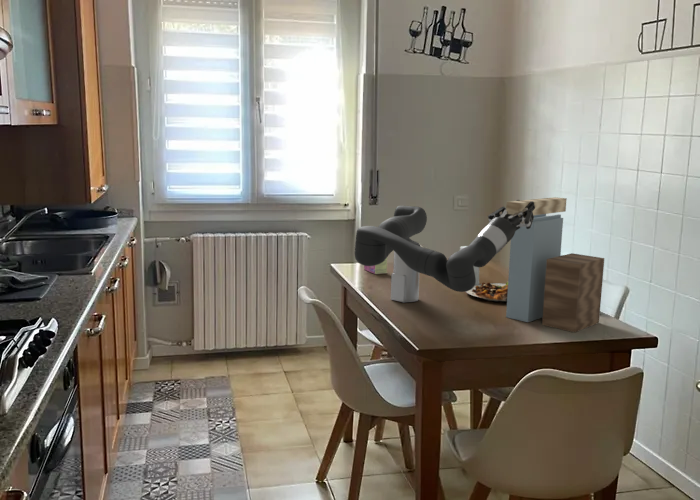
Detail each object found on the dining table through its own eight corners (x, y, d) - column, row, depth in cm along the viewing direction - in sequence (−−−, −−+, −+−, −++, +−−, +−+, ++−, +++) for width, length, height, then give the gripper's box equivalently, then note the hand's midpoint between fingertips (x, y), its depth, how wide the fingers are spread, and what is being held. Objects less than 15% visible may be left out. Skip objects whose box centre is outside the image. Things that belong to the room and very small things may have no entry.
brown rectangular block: (517, 217, 196) (518, 203, 195) (505, 215, 199) (506, 201, 198) (565, 211, 214) (566, 198, 213) (553, 210, 216) (554, 197, 216)
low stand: (574, 332, 211) (580, 264, 208) (542, 324, 219) (546, 259, 215) (598, 322, 223) (604, 258, 219) (567, 315, 230) (571, 253, 227)
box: (363, 269, 298) (364, 242, 296) (375, 268, 300) (376, 241, 298) (374, 274, 289) (375, 246, 287) (386, 273, 291) (387, 245, 289)
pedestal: (527, 322, 222) (534, 219, 216) (506, 317, 227) (512, 216, 221) (556, 312, 234) (563, 214, 228) (535, 308, 240) (541, 212, 234)
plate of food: (543, 291, 266) (543, 275, 265) (542, 308, 239) (543, 291, 238) (469, 287, 273) (469, 272, 272) (460, 303, 247) (461, 287, 246)
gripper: (513, 229, 186) (545, 194, 195) (469, 223, 196) (502, 190, 205) (519, 251, 190) (550, 216, 198) (476, 244, 200) (508, 211, 208)
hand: (526, 203), depth 201 cm, fingers closed on brown rectangular block, 4 cm apart
